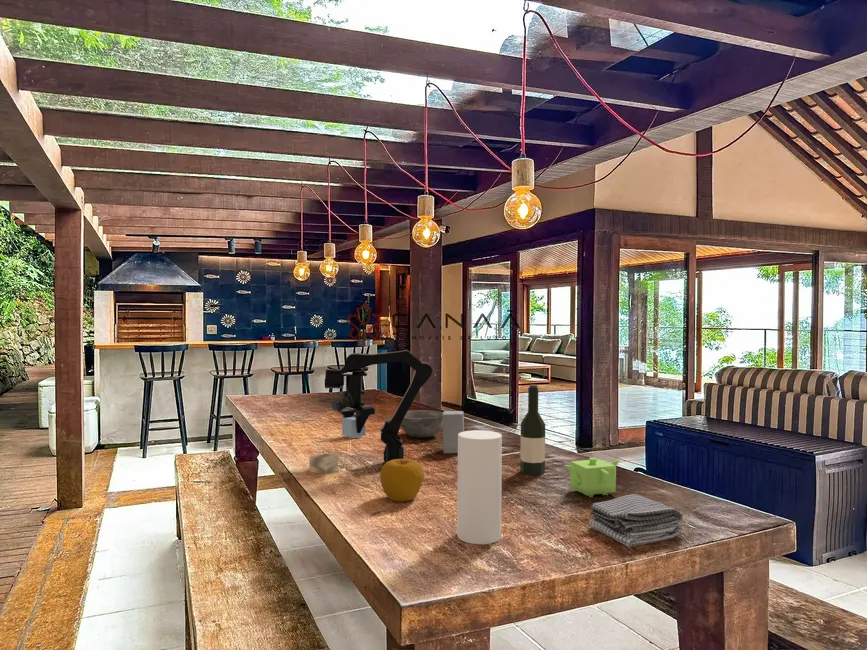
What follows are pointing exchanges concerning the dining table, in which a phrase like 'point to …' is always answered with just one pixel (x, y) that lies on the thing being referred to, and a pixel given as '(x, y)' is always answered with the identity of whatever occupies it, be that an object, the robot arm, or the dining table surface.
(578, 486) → the teapot
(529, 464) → the wine bottle
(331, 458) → the birch block
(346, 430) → the blue cube
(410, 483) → the apple
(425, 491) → the dining table surface
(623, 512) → the towel
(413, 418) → the bowl
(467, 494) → the tall pillar cylinder
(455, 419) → the skincare box
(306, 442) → the dining table surface
